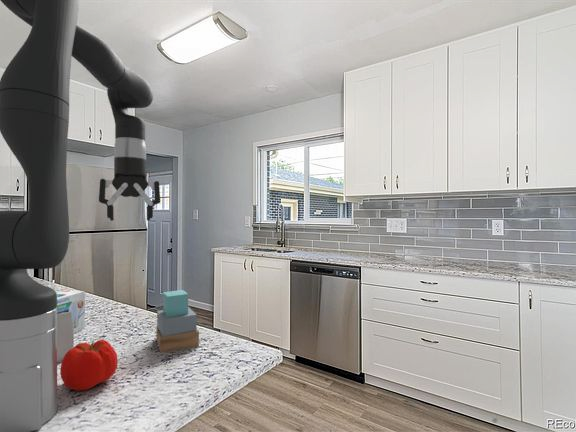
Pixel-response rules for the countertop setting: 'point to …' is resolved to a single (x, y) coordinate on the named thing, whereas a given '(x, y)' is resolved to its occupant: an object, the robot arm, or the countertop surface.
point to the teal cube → (175, 303)
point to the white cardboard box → (64, 334)
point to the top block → (176, 323)
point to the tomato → (88, 365)
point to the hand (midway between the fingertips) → (130, 220)
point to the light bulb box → (72, 307)
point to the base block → (177, 340)
